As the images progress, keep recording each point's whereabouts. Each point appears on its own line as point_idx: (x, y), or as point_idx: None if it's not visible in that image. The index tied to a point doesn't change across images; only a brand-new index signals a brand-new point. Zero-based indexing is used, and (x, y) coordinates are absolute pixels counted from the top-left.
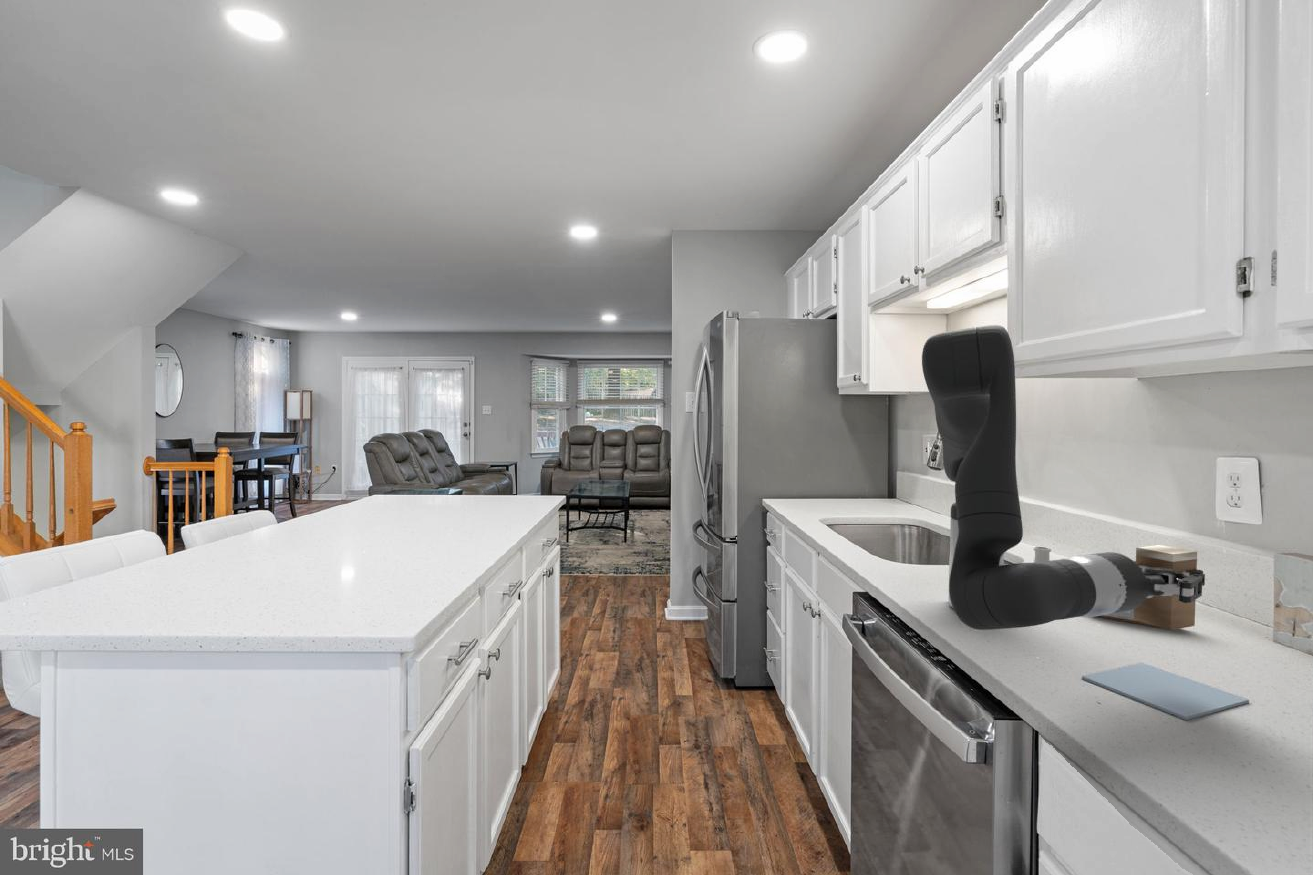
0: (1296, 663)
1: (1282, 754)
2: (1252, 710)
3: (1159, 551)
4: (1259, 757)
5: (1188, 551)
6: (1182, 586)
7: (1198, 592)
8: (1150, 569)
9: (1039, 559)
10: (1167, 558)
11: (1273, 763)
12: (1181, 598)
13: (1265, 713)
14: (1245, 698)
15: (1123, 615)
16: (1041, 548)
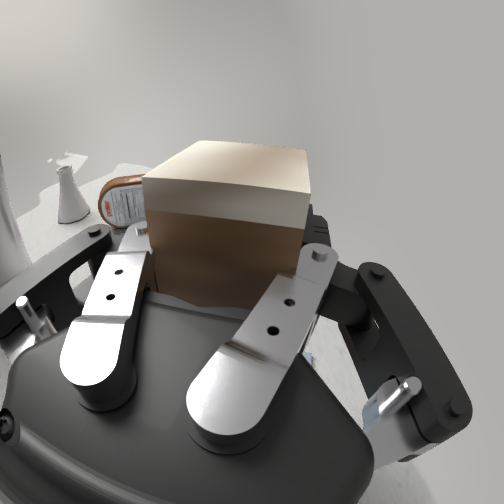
0: None
1: (401, 467)
2: (324, 376)
3: (242, 182)
4: (395, 499)
5: (296, 155)
6: (445, 439)
7: (373, 328)
8: (277, 386)
9: (63, 181)
10: (280, 215)
11: (407, 497)
12: (410, 458)
13: (335, 372)
14: (308, 353)
15: (139, 220)
16: (64, 167)
